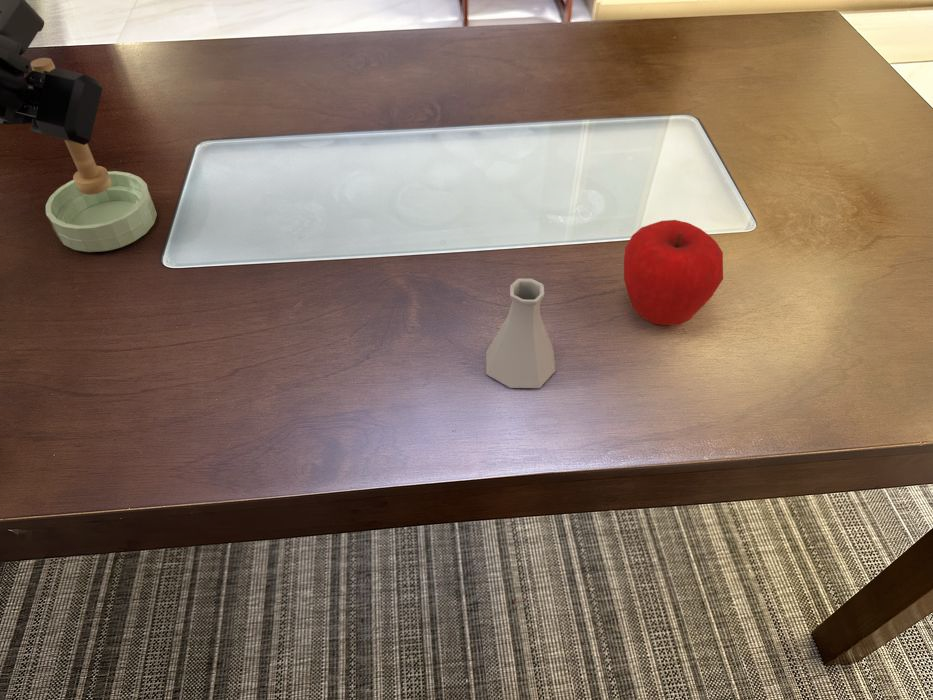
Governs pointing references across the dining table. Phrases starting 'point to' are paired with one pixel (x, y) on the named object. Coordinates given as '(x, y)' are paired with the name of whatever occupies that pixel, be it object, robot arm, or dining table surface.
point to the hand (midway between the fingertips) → (77, 119)
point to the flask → (522, 341)
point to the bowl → (102, 214)
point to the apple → (671, 271)
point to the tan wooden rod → (80, 153)
